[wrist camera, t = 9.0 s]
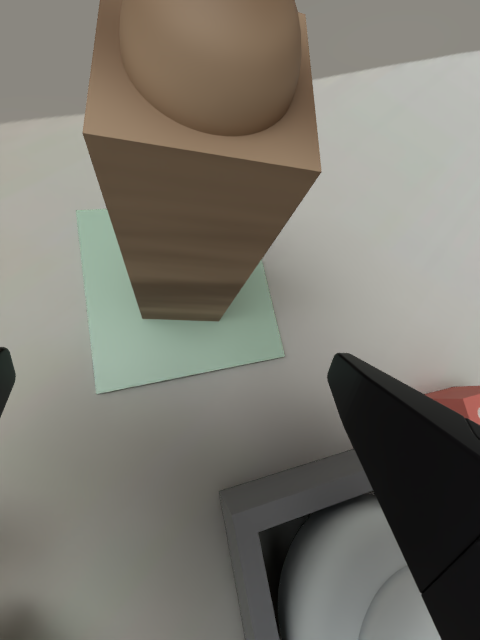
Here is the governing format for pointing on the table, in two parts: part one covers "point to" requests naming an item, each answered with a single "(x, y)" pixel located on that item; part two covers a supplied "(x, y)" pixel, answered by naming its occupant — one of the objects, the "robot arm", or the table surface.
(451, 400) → the red die
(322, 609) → the dome
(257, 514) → the grey square tray
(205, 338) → the pad
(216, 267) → the brown post with ball
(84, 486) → the table surface
